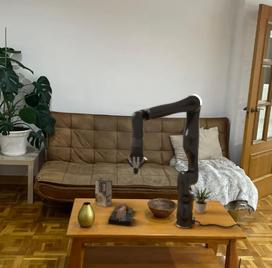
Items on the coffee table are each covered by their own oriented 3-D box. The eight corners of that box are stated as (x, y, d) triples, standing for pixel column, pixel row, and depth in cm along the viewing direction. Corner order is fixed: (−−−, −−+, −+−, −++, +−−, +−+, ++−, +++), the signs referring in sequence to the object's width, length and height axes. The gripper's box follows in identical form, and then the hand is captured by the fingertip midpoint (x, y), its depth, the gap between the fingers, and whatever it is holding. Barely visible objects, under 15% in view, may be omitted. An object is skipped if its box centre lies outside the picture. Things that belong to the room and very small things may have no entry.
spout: (122, 214, 214) (123, 205, 213) (125, 214, 213) (126, 206, 212) (116, 218, 206) (117, 210, 205) (119, 219, 205) (120, 210, 205)
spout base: (133, 218, 215) (133, 213, 215) (130, 227, 203) (130, 222, 203) (112, 216, 217) (112, 211, 216) (107, 225, 205) (107, 219, 204)
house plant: (212, 218, 223) (215, 193, 220) (189, 215, 225) (192, 190, 222) (211, 209, 237) (214, 185, 234) (190, 207, 239) (192, 183, 236)
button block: (133, 211, 227) (133, 205, 226) (130, 216, 218) (131, 210, 217) (115, 209, 228) (116, 203, 227) (112, 214, 219) (113, 208, 218)
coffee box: (111, 204, 235) (113, 180, 233) (105, 207, 230) (106, 182, 227) (100, 201, 240) (101, 177, 237) (94, 203, 235) (95, 179, 232)
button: (126, 206, 224) (127, 203, 223) (125, 208, 220) (126, 206, 220) (121, 206, 224) (121, 203, 224) (120, 208, 221) (120, 205, 220)
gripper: (149, 144, 212) (147, 173, 215) (127, 142, 214) (125, 171, 217) (148, 147, 205) (146, 176, 208) (124, 145, 206) (123, 174, 209)
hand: (135, 173), depth 212 cm, fingers closed
